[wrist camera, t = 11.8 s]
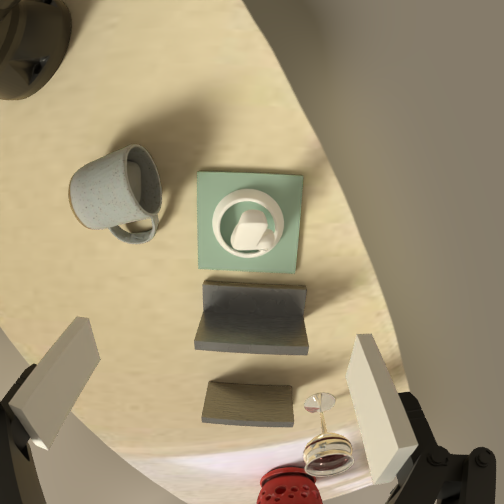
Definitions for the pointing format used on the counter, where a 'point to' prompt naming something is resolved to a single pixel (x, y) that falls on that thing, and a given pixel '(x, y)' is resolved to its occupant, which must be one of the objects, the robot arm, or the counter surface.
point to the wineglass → (326, 443)
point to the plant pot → (288, 487)
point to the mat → (214, 190)
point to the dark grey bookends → (251, 347)
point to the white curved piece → (250, 224)
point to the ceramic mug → (118, 193)
